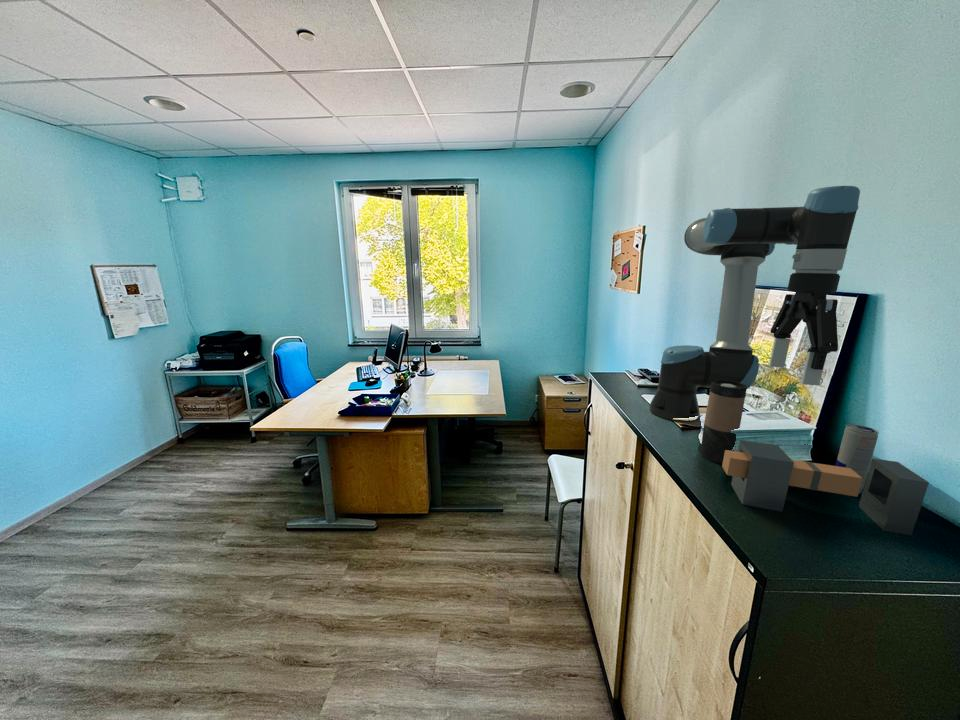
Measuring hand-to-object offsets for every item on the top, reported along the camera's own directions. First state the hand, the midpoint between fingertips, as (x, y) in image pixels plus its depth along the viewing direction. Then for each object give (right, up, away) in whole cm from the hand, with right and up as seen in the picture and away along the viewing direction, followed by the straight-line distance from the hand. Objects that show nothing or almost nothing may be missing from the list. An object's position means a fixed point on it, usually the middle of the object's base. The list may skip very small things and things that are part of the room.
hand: (791, 375), depth 80 cm
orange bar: (-2, -22, -1) cm, 22 cm away
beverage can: (+16, -26, +5) cm, 31 cm away
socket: (+13, -28, -6) cm, 32 cm away
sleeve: (-7, -26, +1) cm, 27 cm away
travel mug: (-4, -22, +19) cm, 30 cm away
